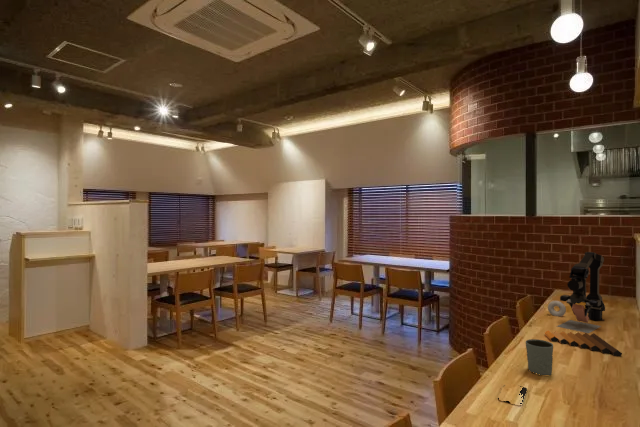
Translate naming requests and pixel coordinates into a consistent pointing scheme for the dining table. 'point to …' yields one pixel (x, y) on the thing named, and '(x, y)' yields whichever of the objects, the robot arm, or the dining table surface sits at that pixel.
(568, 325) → the mat
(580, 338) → the pan flute
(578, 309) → the tall box
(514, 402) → the dining table surface
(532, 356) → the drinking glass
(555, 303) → the donut
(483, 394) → the dining table surface
